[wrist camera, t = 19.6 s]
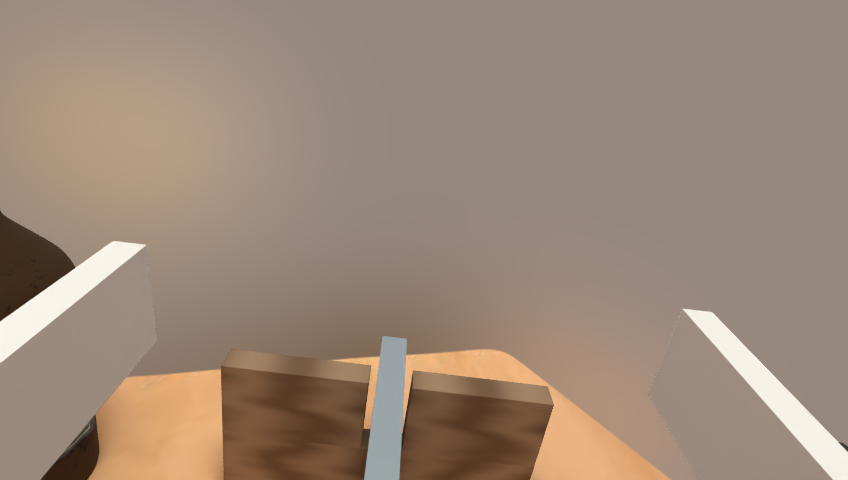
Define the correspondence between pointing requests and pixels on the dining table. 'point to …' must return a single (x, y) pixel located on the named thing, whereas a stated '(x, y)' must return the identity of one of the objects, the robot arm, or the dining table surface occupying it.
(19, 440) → the robot arm
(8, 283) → the dark brown bottle
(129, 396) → the dining table surface
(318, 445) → the walnut slotted board
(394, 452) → the slate slotted plate
